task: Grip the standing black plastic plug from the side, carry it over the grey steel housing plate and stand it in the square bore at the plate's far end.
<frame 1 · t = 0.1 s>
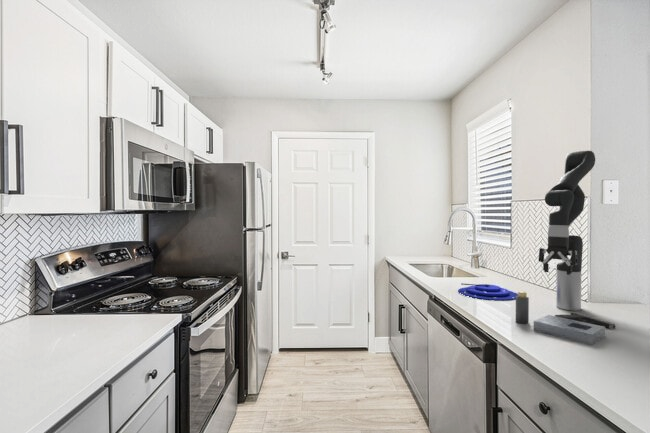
hand: (557, 273, 152), 17 cm above the worktop, tool pointing down, fingers open, 8 cm apart
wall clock: (487, 295, 189), on the worktop
plug: (522, 322, 140), on the worktop
housing: (568, 333, 127), on the worktop
handgun: (583, 324, 138), on the worktop
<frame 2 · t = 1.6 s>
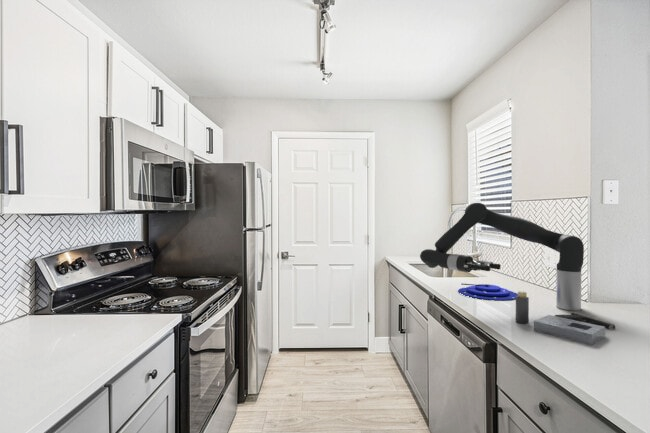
hand: (495, 267, 148), 20 cm above the worktop, tool horizontal, fingers open, 8 cm apart
nothing on the worktop moved.
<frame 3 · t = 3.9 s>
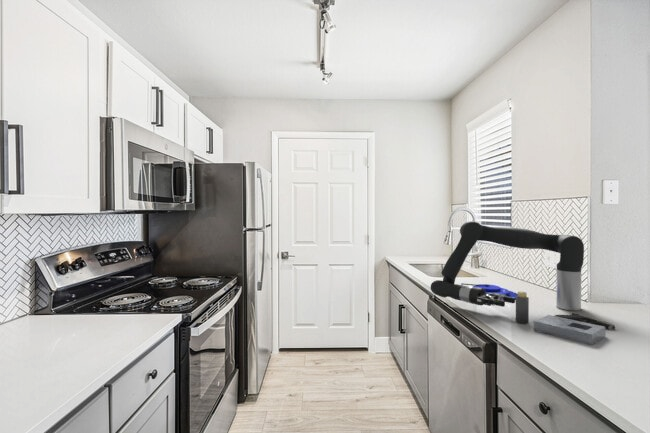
hand: (509, 302, 143), 7 cm above the worktop, tool horizontal, fingers open, 8 cm apart
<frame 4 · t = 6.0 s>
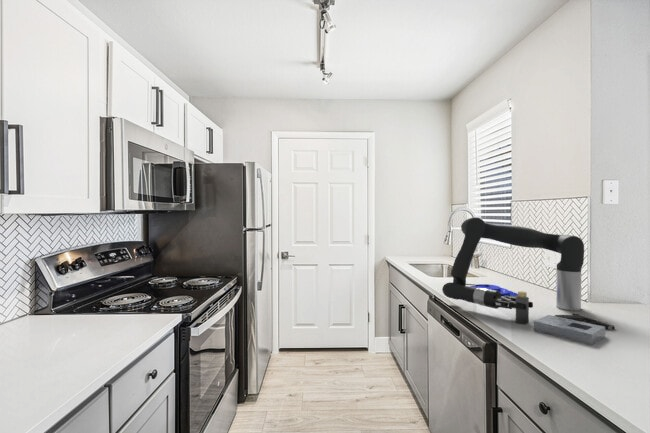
hand: (529, 306, 137), 7 cm above the worktop, tool horizontal, fingers closed on plug, 4 cm apart
plug: (522, 322, 140), on the worktop, touching gripper
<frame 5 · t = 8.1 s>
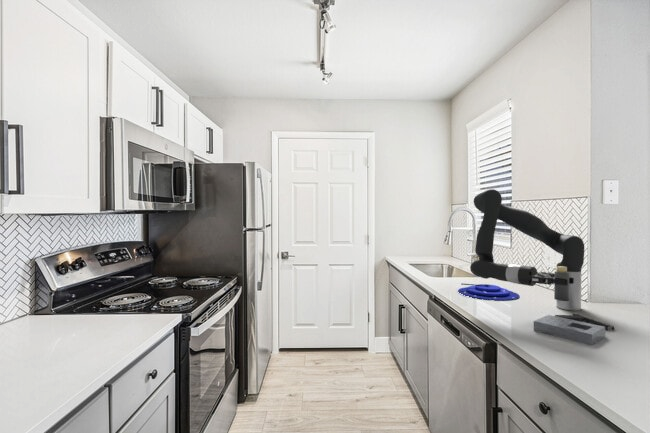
hand: (570, 281, 126), 19 cm above the worktop, tool horizontal, fingers closed on plug, 4 cm apart
plug: (561, 299, 128), point 12 cm above the worktop, touching gripper
when the fingers open (11 cm above the worktop, at t = 10.4 s): plug drops 4 cm, resting in housing.
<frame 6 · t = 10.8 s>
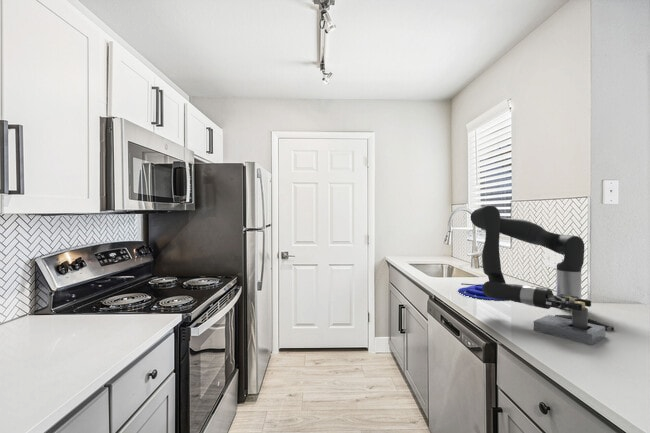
hand: (586, 305, 122), 11 cm above the worktop, tool horizontal, fingers open, 8 cm apart
plug: (579, 336, 124), resting in housing
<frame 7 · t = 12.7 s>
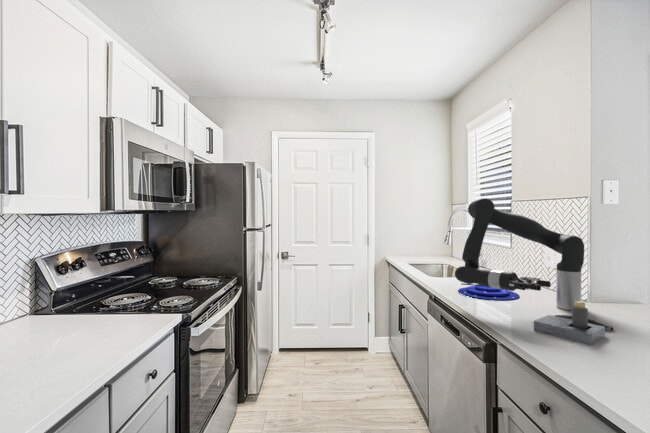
hand: (545, 286, 133), 16 cm above the worktop, tool horizontal, fingers open, 8 cm apart
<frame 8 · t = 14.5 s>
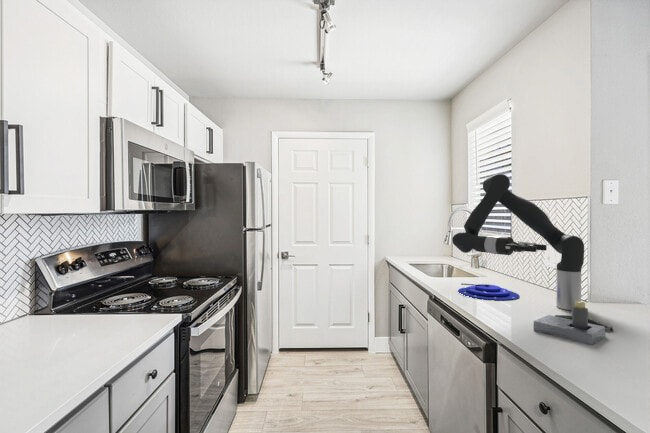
hand: (541, 248, 134), 30 cm above the worktop, tool horizontal, fingers open, 8 cm apart
at the end: plug 0.1 cm from the target spot on the housing, point 0.0 cm above the housing's base; plug tilted 0°; the gripper is holding nothing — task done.
